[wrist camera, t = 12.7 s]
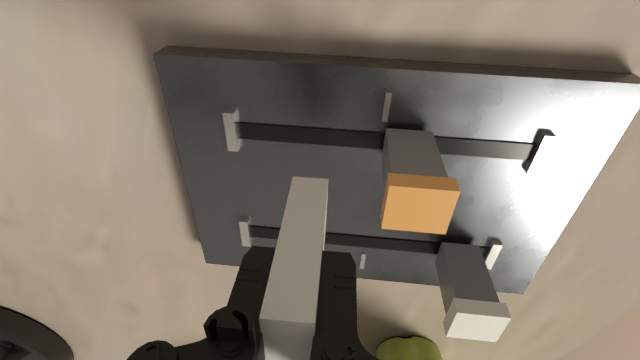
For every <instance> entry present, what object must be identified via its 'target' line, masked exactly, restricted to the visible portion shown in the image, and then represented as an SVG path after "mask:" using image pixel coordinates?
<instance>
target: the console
mask: <svg viewBox="0 0 640 360" xmlns="http://www.w3.org/2000/svg"><path fill="white" fill-rule="evenodd" d="M153 55H154V59H155V63H156V67H157V71H158V75H159V79H160V83H161V87H162V91H163V95H164V99H165V103H166V107H167V110H168V114H169V118H170V122H171V126H172V130H173V134H174V138H175V142H176V146H177V150H178V154H179V158H180V162H181V166H182V170H183V174H184V178H185V182H186V186H187V190H188V193H189V197H190V201H191V205H192V209H193V213H194V217H195V221H196V225H197V229H198V233H199V237H200V241H201V245H202V249H203V253H204V257H205V261H206V263H211V264H221V265H231V266H240V265H241V262H242V259H243V256H244V255H245V254H246V253H247V252H248V251H249V249H250V248H251V247H252V246H261V247H274V248H276V245H277V241H278V237H279V233H280V229H281V224H282V220H283V216H284V212H285V208H286V203H287V199H288V195H289V191H290V187H291V182H292V178H293V176H294V177H309V178H323V179H329V180H328V197H327V215H326V230H325V242H324V251H335V252H348V253H350V254H351V256H352V257H353V259H354V261H355V263H356V278H364V279H374V280H384V281H394V282H404V283H414V284H425V285H435V286H440V284H439V280H438V275H437V270H436V266H435V260H436V257H437V254H438V251H439V248H440V246H441V243H442V242H446V243H457V244H468V245H479V247H480V249H481V252H482V255H483V258H484V260H485V263H486V266H487V269H488V271H489V274H490V277H491V280H492V282H493V285H494V288H495V291H496V292H506V293H516V294H523V293H524V292H525V290H526V288H527V287H528V285H529V284H530V282H531V280H532V279H533V277H534V276H535V274H536V272H537V271H538V269H539V268H540V266H541V264H542V263H543V261H544V260H545V258H546V256H547V255H548V253H549V252H550V250H551V248H552V247H553V245H554V244H555V242H556V240H557V239H558V237H559V236H560V234H561V232H562V231H563V229H564V228H565V226H566V224H567V223H568V221H569V220H570V218H571V216H572V215H573V213H574V212H575V210H576V208H577V207H578V205H579V203H580V202H581V200H582V199H583V197H584V195H585V194H586V192H587V191H588V189H589V187H590V186H591V184H592V183H593V181H594V179H595V178H596V176H597V175H598V173H599V171H600V170H601V168H602V167H603V165H604V163H605V162H606V160H607V159H608V157H609V155H610V154H611V152H612V151H613V149H614V147H615V146H616V144H617V143H618V141H619V139H620V138H621V136H622V135H623V133H624V131H625V130H626V128H627V127H628V125H629V123H630V122H631V120H632V119H633V117H634V115H635V114H636V112H637V111H638V109H639V107H640V77H638V76H636V75H635V74H629V73H613V72H596V71H579V70H563V69H546V68H529V67H512V66H496V65H479V64H462V63H445V62H429V61H412V60H395V59H378V58H362V57H345V56H328V55H311V54H295V53H278V52H261V51H244V50H228V49H211V48H194V47H178V46H166V47H164V48H162V49H161V50H159V51H158V52H156V53H154V54H153ZM386 128H391V129H405V130H419V131H432V132H433V135H434V137H435V140H436V143H437V146H438V149H439V152H440V155H441V158H442V161H443V164H444V167H445V170H446V173H447V176H448V178H456V181H457V183H458V186H459V189H460V194H459V197H458V200H457V203H456V206H455V209H454V212H453V215H452V217H451V220H450V223H449V226H448V229H447V232H446V234H435V233H423V232H412V231H401V230H390V229H381V217H380V214H381V209H382V203H383V198H384V190H383V177H382V165H381V158H382V151H383V145H384V139H385V133H386Z"/></svg>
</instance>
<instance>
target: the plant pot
mask: <svg viewBox="0 0 640 360" xmlns="http://www.w3.org/2000/svg"><path fill="white" fill-rule="evenodd" d="M376 358H378V359H380V360H442V357H441V354H440V351H439V349H438V347H437V346H436V345H435V344H434V343H432V342H431V341H429V340H427V339H424V338H420V337H412V338H409V339H403V338H399V337H395V338H391V339H388V340H386V341H385V342H383V343H382V344H381V345H380V346H379V347H378V349H377V354H376Z"/></svg>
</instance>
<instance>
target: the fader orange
mask: <svg viewBox="0 0 640 360" xmlns="http://www.w3.org/2000/svg"><path fill="white" fill-rule="evenodd" d="M381 165H382V177H383V190H384V198H383V203H382V209H381V214H380V217H381V229H390V230H401V231H412V232H423V233H435V234H446V232H447V229H448V226H449V223H450V220H451V217H452V215H453V212H454V209H455V206H456V203H457V200H458V197H459V194H460V189H459V186H458V183H457V181H456V178H448V176H447V173H446V170H445V167H444V164H443V161H442V158H441V155H440V152H439V149H438V146H437V143H436V140H435V137H434V135H433V132H432V131H419V130H405V129H391V128H386V133H385V139H384V145H383V151H382V158H381Z"/></svg>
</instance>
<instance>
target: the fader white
mask: <svg viewBox="0 0 640 360" xmlns="http://www.w3.org/2000/svg"><path fill="white" fill-rule="evenodd" d="M435 266H436V270H437V275H438V280H439V284H440V289H441V294H442V298H443V303H444V308H445V312H446V317H445V319H444V321H443V324H444V329H445V334H446V337H453V338H462V339H472V340H481V341H491V342H497V340H498V339H499V337H500V335H501V334H502V332H503V331H504V329H505V328H506V326H507V324H508V323H509V321H510V320H511V316H510V313H509V310H508V308H507V305H506V303H500V302H499V299H498V296H497V293H496V291H495V288H494V285H493V282H492V280H491V277H490V274H489V271H488V269H487V266H486V263H485V260H484V258H483V255H482V252H481V249H480V247H479V245H468V244H457V243H446V242H442V243H441V246H440V248H439V251H438V254H437V257H436V260H435Z"/></svg>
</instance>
